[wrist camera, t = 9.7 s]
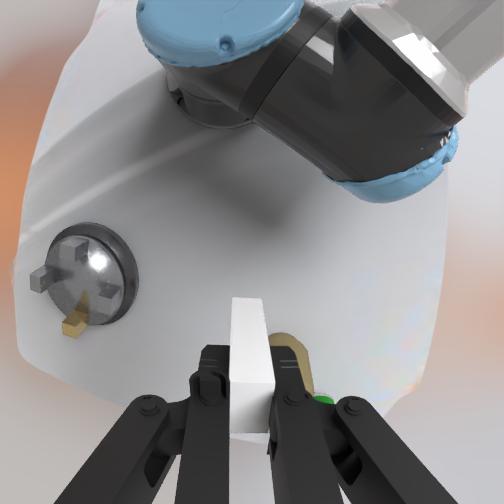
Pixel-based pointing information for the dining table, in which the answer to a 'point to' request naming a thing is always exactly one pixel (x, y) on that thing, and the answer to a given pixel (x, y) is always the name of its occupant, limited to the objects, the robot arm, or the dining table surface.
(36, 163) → the dining table surface
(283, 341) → the squeeze bottle
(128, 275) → the mounting flange
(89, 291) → the four-lug metal disc
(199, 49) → the robot arm
